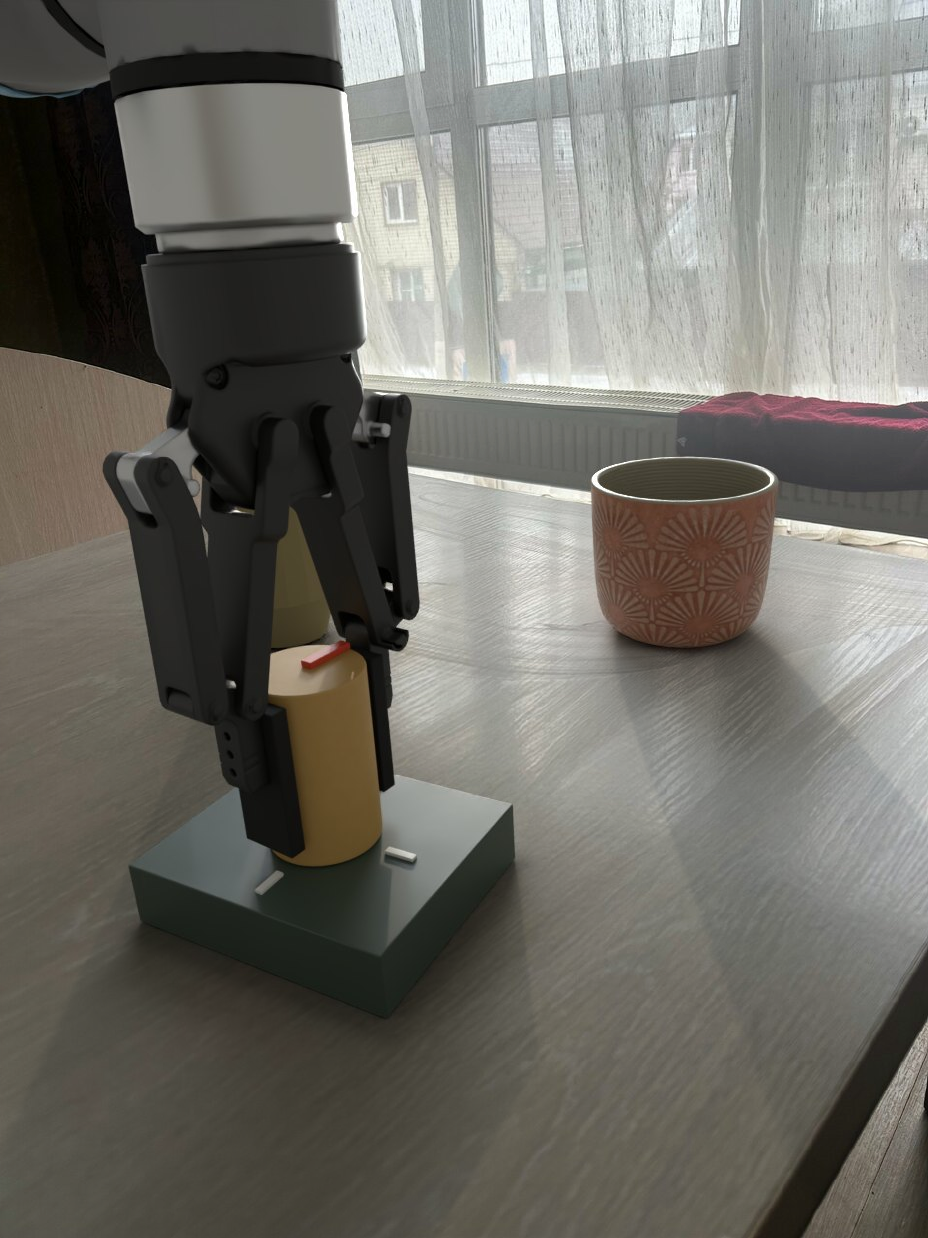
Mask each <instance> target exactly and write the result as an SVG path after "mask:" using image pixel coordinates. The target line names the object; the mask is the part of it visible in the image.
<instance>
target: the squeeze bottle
mask: <svg viewBox="0 0 928 1238" xmlns="http://www.w3.org/2000/svg"><path fill="white" fill-rule="evenodd" d="M236 508H237V510H238V511H240V512H245V513H250V514H254V511H255V510H250V509H244V508H239V507H236ZM331 617H332V616H331V613H330V610H329V607H328V604H327V601H326V598H325V595H324V592H323V589H322V587H321V584H320V581H319V578H318V575H317V572H316V569H315V566H314V563H313V560H312V557H311V554H310V551H309V548H308V546H307V543H306V540H305V537H304V534H303V531H302V528H301V525H300V522H299V519H298V516H297V514H296V512H295V510H294V509H292V508H291V507H289V522H288V531H287V534H286V535H285V537H283V538H282V539H281V540H279V542H278V545H277V559H276V575H275V592H274V608H273V624H272V641H271V649H281V648H295V647H299V646H303V645H305V644H309V643H311V642H314V641H316V640H319V639H320V638H322V637H323V636H324V635H325V634H326V633H328V629H329V624H330V621H331Z"/></svg>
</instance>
